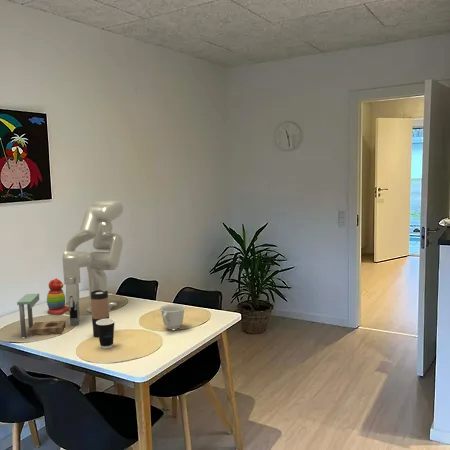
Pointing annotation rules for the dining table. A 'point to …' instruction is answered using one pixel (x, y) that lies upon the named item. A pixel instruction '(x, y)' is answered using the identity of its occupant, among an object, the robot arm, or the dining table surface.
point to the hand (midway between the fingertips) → (74, 316)
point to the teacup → (172, 315)
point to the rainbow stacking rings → (56, 298)
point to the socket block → (47, 328)
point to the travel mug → (99, 308)
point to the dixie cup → (106, 332)
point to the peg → (77, 320)
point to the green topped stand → (30, 301)
